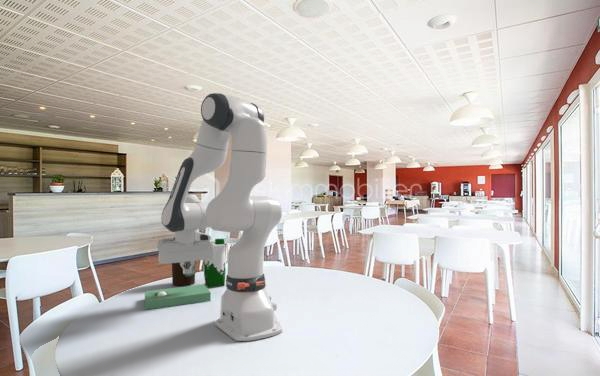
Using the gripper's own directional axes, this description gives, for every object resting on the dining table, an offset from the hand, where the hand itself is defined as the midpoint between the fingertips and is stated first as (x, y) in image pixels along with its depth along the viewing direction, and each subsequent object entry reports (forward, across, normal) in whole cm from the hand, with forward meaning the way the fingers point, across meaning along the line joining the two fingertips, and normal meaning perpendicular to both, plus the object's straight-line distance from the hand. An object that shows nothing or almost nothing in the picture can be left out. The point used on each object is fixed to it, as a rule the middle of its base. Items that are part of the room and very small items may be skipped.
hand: (187, 273), depth 122 cm
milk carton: (+10, +14, +16) cm, 23 cm away
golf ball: (+8, -9, +2) cm, 12 cm away
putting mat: (+10, -4, +1) cm, 10 cm away
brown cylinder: (+9, +2, +24) cm, 26 cm away
